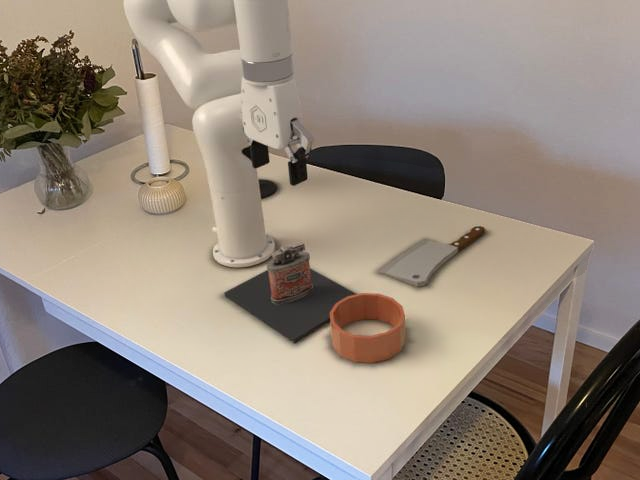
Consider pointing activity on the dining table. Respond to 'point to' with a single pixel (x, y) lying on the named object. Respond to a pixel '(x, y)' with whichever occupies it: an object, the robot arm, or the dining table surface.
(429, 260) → the kitchen cleaver
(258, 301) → the mat
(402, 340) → the orange hollow ring
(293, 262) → the lighter
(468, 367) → the dining table surface
